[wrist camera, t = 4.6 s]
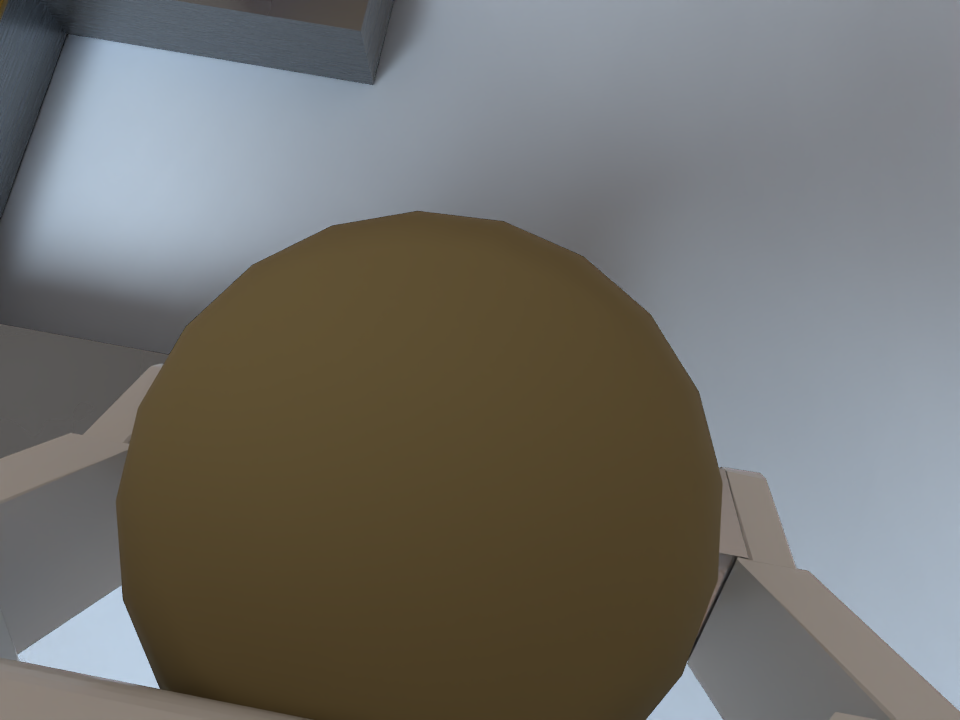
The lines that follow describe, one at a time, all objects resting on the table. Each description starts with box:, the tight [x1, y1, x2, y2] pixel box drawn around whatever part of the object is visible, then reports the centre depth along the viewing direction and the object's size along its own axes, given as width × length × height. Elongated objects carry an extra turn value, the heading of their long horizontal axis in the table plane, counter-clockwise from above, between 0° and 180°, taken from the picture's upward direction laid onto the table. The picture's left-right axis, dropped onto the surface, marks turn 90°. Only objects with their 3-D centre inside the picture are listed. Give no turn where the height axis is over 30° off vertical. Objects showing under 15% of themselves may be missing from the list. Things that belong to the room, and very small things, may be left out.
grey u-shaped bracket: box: [0, 0, 394, 459], centre depth 16 cm, size 14×14×2 cm
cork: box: [116, 211, 723, 720], centre depth 10 cm, size 6×6×11 cm
